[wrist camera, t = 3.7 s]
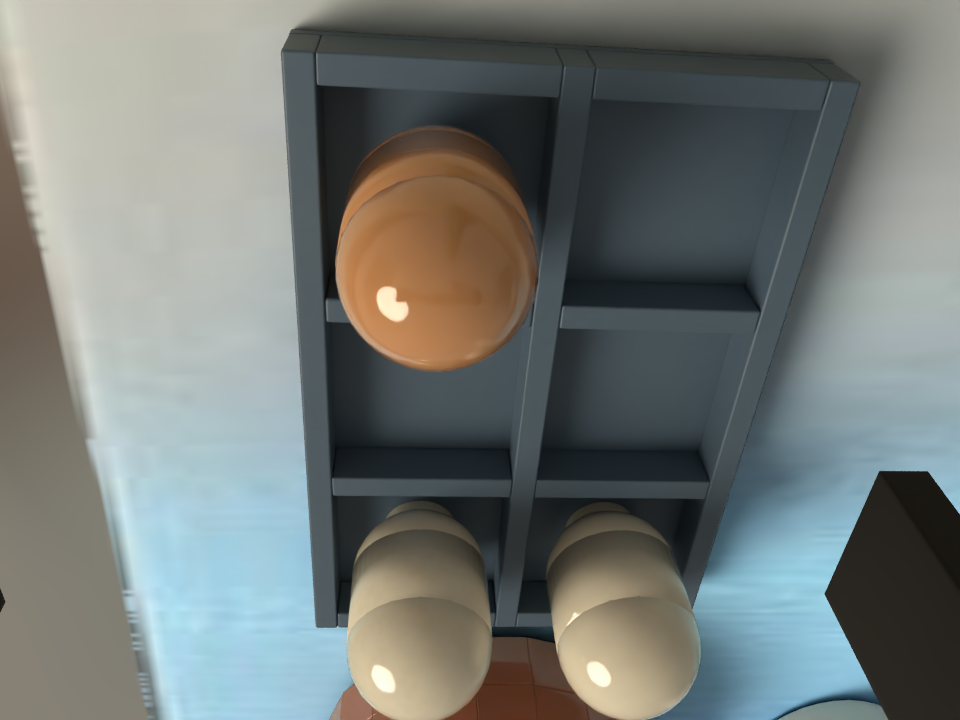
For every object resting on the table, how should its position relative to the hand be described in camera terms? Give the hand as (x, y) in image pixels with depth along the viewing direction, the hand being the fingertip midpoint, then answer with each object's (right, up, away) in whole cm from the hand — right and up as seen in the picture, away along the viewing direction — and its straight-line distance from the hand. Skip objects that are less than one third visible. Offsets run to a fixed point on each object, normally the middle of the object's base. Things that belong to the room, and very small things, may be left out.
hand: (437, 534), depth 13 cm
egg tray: (+2, +2, +15) cm, 16 cm away
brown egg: (-1, +8, +11) cm, 13 cm away
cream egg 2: (+5, -4, +19) cm, 20 cm away
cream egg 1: (-2, -3, +18) cm, 19 cm away
